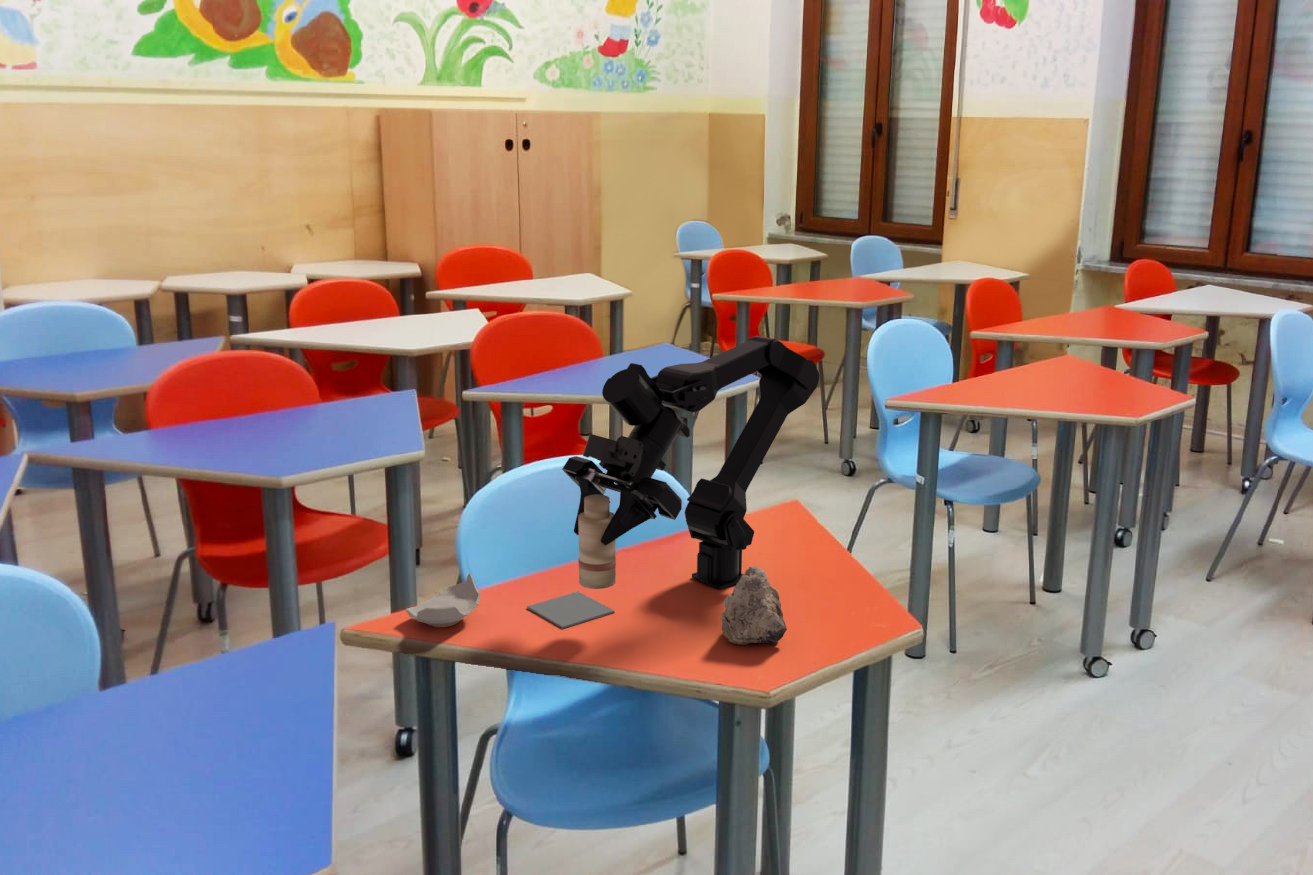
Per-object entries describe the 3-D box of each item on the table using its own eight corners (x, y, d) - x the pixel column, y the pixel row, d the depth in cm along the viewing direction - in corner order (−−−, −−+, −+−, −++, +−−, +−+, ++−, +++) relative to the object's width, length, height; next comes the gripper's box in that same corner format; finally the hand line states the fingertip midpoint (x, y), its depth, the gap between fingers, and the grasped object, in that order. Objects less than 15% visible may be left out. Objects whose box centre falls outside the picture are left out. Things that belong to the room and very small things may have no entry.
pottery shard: (467, 601, 163) (466, 569, 162) (500, 629, 154) (499, 595, 153) (399, 616, 157) (397, 583, 156) (429, 646, 148) (427, 611, 147)
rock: (721, 666, 149) (755, 631, 143) (691, 595, 155) (724, 559, 148) (770, 658, 154) (806, 624, 148) (740, 590, 159) (773, 555, 153)
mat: (577, 593, 166) (577, 591, 166) (614, 612, 160) (614, 610, 159) (527, 608, 161) (527, 606, 161) (562, 628, 154) (562, 626, 154)
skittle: (605, 572, 156) (605, 490, 153) (622, 584, 152) (622, 500, 149) (572, 578, 153) (571, 496, 150) (589, 591, 149) (588, 506, 146)
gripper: (571, 400, 156) (511, 492, 151) (668, 423, 143) (606, 524, 138) (612, 444, 163) (556, 533, 158) (707, 470, 151) (650, 567, 146)
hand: (589, 538), depth 150 cm, fingers closed on skittle, 5 cm apart
